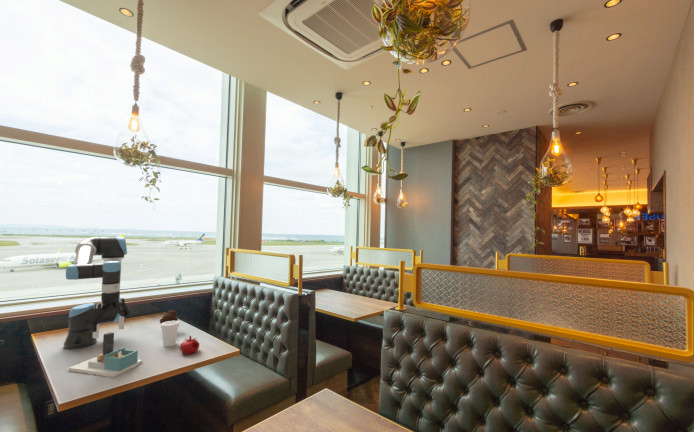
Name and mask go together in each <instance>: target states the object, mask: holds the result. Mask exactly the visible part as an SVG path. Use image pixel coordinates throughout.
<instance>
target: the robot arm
mask: <svg viewBox="0 0 694 432" xmlns="http://www.w3.org/2000/svg"><path fill="white" fill-rule="evenodd" d="M127 249H128V248H127V241H126V238H125V237H123V236H92V237H89V238H87V239H83V240H82V241H81V242H79V243H78V244H76V246H75V250H74V252H75V258H74V261H73V264H68V265H67V266H66V269H65V279H66V280H69V281H71V280H74V281H75V280H76V281H77V280H87V279H90V280H91V279H101V281H102V282H101V292H102V293H101V294H100V295H101V297H100V299H101V300H100V301H99V303H96V304H95V303H93V302H91V303H90V302H89V303H83V304H79V305H76V306H73V307H72V308H70V310H69V312H68V330H67V331H68V332H67V335H66V337H65V341H64V342H63V349H66V350H75V349H82V348H85V347H86V348H87V347H88V346H92V345H94V344H95V343H97V341H98V339H99V333H100V325H104V324H105V325H106V324H113V323H117V322H118V329H119V330H124V329H125V322H126V317H127V316H128V315H129V314H130V311H129V309H128V307H127V304H126V303H125V298H124V297H120V295H121V278H122V277H121V273H122V272H121V271H122V260H124V258H125V256H126V255H127V254H128V250H127ZM95 256H101V260H103V263H102V262H101V263H93V258H94V257H95Z"/></svg>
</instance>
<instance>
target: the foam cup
mask: <svg viewBox="0 0 694 432" xmlns="http://www.w3.org/2000/svg"><path fill="white" fill-rule="evenodd" d="M179 327H180V321H167V322H163V323H162V324H161V323H160V329H161V337H162V345H163V347H172V346H175V345H176V341H177V336H178V331H179Z"/></svg>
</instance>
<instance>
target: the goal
mask: <svg viewBox="0 0 694 432" xmlns="http://www.w3.org/2000/svg"><path fill="white" fill-rule="evenodd" d="M138 351H139V350H136V349H135V350H134V349H127V348H126V346H123V347H120V348H118V349H115V350H113V352H110V353H108V354H105V363H104V369H106V370H114V371H121V370H123V369H125V368H127V367H129V366H131V365H133V364H135V363H137V360H138V356H139V355H138V354H139V352H138ZM117 352H118V353H119V352H121V355H124V356H123V357H120V358H119V357H111V356H110V355H112V354H115V353H117Z"/></svg>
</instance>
